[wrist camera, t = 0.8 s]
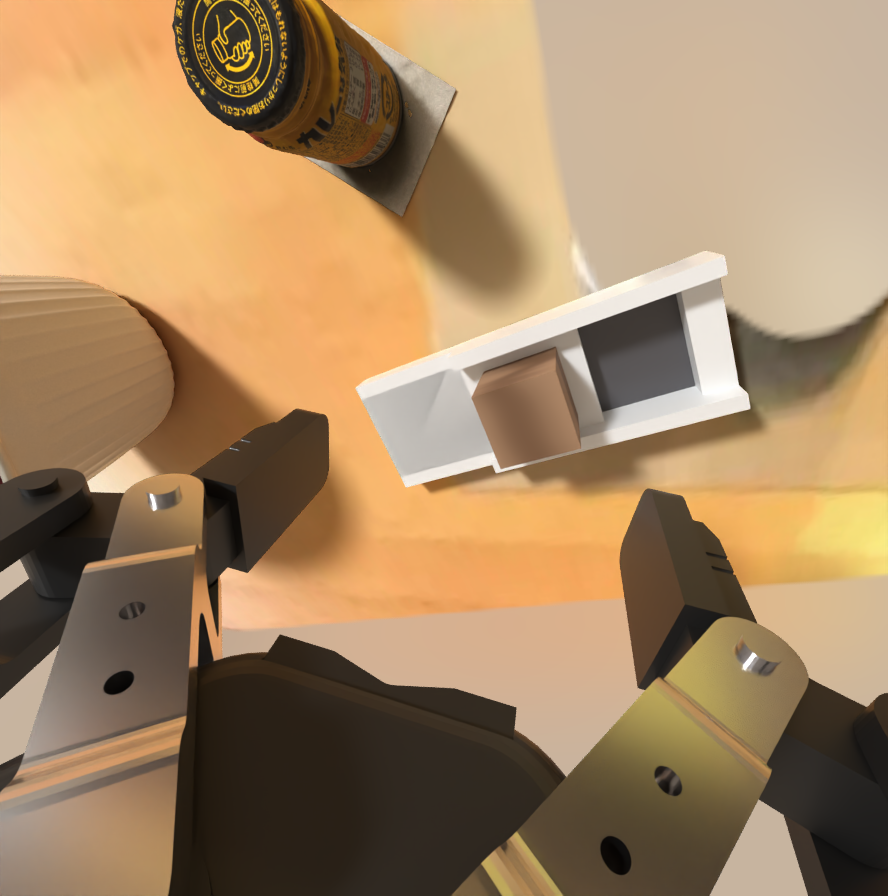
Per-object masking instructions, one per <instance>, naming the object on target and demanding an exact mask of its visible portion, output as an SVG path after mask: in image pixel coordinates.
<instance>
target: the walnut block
mask: <svg viewBox="0 0 888 896" xmlns="http://www.w3.org/2000/svg"><path fill="white" fill-rule="evenodd" d="M471 398H472V401H473V403H474V406H475V408H476V411H477V413H478V415H479V418H480V420H481V423H482V425H483V428H484V430H485V432H486V435H487V437H488V440H489V442H490V445H491V447H492V449H493V452H494V454H495V457H496V459H497V461H498V464H499V466H500V469H504V468H508V467H511V466H515V465H519V464H523V463H527V462H531V461H535V460H539V459H543V458H547V457H550V456H554V455H558V454H562V453H566V452H570V451H574V450H578V449H581V440H580V430H579V420H578V413H577V410H576V407H575V404H574V401H573V398H572V395H571V392H570V389H569V386H568V383H567V379H566V376H565V373H564V370H563V367H562V364H561V361H560V358H559V355H558V352H557V348H556V347H553V348H550V349H547V350H544V351H542V352H539V353H536V354H533V355H530V356H527V357H524V358H521V359H518V360H516V361H513V362H510V363H507V364H504V365H501V366H498V367H495V368H492V369H490V370H487V371H484V372H483V374H482V376H481V378H480V380H479V382H478V385H477V387H476V389H475V391H474V393H473V395H472V397H471Z"/></svg>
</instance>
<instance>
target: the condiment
mask: <svg viewBox="0 0 888 896" xmlns="http://www.w3.org/2000/svg"><path fill="white" fill-rule="evenodd" d="M172 27H173V30H174V33H175V44H176V50H177V55H178V58H179V60H180V63H181V66H182V69H183V71H184V73H185V76H186V79H187V82H188V85H189V86H190V88H191V89H192V90H193V92H194V93H195V94H196V96H197V97H198V98H199V99H200V101H201V102H202V104H203V105H204V106H205V107H206V109H207V110H208V111H209V112H210V113H211V114H212V115H214V116H215V117H217V118H218V119H219V120H221V121H222V122H223V123H225V124H226V125H228V126H232V127H233V128H234V129H235V130H242V131H245V132H246V133H248V134H249V135H250V136H251V137H253V138H254V139H255V140H256V141H258V142H260V143H262V144H264V145H266V146H267V147H269V148H272V149H275V150H279V151H281V152H287V153H292V154H296V155H301V156H304V157H306V158H307V159H309V160H311V161H312V162H314V163H315V164H317V165H319V166H320V167H322V168H324V169H325V170H327V171H329V172H330V173H332V174H333V175H335V176H337V177H338V178H340V179H341V180H343V181H345V182H346V183H348V184H350V185H351V186H352V187H354V188H356V189H357V190H359V191H361V192H362V193H364V194H366V195H367V196H369V197H371V198H372V199H374V200H375V201H377V202H379V203H380V204H382V205H383V206H385V207H387V208H388V209H390V210H391V211H393V212H395V213H396V214H398V215H400V216H401V217H402V216H403V214H404V212H405V209H406V207H407V204H408V203H409V201H410V198H411V196H412V194H413V191H414V189H415V187H416V184H417V181H418V179H419V177H420V175H421V173H422V170H423V168H424V165H425V163H426V161H427V158H428V156H429V153H430V151H431V149H432V146H433V145H434V141H435V139H436V136H437V133H438V131H439V129H440V126H441V124H442V122H443V120H444V117H445V115H446V112H447V109H448V107H449V105H450V102H451V100H452V97H453V95H454V93H455V90H456V89H455V88H454V87H452V86H450V85H449V84H447V83H446V82H444V81H443V80H441V79H439V78H438V77H436V76H434V75H433V74H431V73H430V72H428V71H427V70H425V69H424V68H422V67H420V66H418V65H417V64H415V63H414V62H412V61H411V60H409V59H408V58H406V57H404V56H403V55H401V54H400V53H398V52H396V51H395V50H393V49H392V48H390V47H388V46H387V45H385V44H384V43H382V42H380V41H379V40H377V39H376V38H374V37H373V36H371V35H369V34H368V33H366V32H365V31H363V30H361V29H360V28H358V27H357V26H355V25H353V24H352V23H350V22H349V21H347V20H346V19H344V18H342V17H341V16H339V15H338V14H336V13H335V12H334V11H333V10H332V9H330V8H329V7H328V6H327V5H326V4H325V3H324V2H323V1H322V0H176V7H175V14H174V21H173V24H172ZM406 102H407V103H408V108H406V107H405V103H406ZM408 110H410V111H411V113H412V116H411V117H410V116H409V114H408ZM369 170H370V171H369Z"/></svg>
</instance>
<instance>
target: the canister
mask: <svg viewBox="0 0 888 896" xmlns="http://www.w3.org/2000/svg"><path fill="white" fill-rule="evenodd" d="M173 376H174V372H173V371H172V368H171V361H170V360H169V358H168V355H167V350H165V348H164V346H163V344H162V340H161V339H160V338H159V337H158V336H157V334H156V332H155V329H154V328H152V327H151V326H150V325H149V323H148V321H147V319H146V318H144V317H143V316H141V314H140V313H139V312H138V310H137V309H136V308H134V307H132V306H130V305H129V303H128V302H127V301H126V300H124V299H122V298H120V297H118V296H117V295H116V294H115V293H113V292H111V291H109V290H106V289H104V288H103V287H101V286H99V285H96V284H92V283H88V282H85V281H83V280H78V279H73V278H64V277H56V276H21V275H0V485H1V484H3V483H5V482H6V481H8V480H11V479H13V478H15V477H17V476H20V475H23V474H26V473H29V472H33V471H37V470H43V469H51V468H68V469H74V470H77V471H79V472H81V473H82V474H83V475H84V476H85V478H86V481H88V480H90V479H91V478H93V477H94V476H95V475H97V474H98V473H100V472H101V471H102V470H104V469H105V468H106V467H108V466H109V465H110V464H112V463H113V462H114V461H116V460H117V459H118V458H120V457H121V456H122V455H124V454H125V453H126V452H128V451H129V450H130V449H131V448H133V447H134V446H135V445H137V444H138V443H139V442H141V441H142V440H143V439H144V438H146V437H147V436H148V435H149V434H151V433H152V432H153V431H154V430H155V429H156V428H157V427H158V426H159V424H160V423H161V422H162V421H163V420H164V418H165V417H166V415H167V413H168V411H169V409H170V407H171V405H172V399H173V397H174V390H173V389H174V386H175V383H174V380H173Z"/></svg>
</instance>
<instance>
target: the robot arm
mask: <svg viewBox="0 0 888 896" xmlns="http://www.w3.org/2000/svg"><path fill="white" fill-rule="evenodd" d="M328 471H329V423H328V419H327V417H326V415H324V414H319V413H315V412H311V411H306V410H302V409H295V410H293V411H292V412H291V413H289V414H288V415H287V416H285V417H284V418H283V419H281V420H280V421H279V422H277V423H275V422H273V423H270V424H267V425H265V426H262V427H259V428H256V429H254V430H253V431H251V432H250V433H248V434H247V435H246V436H244V437H243V438H241V441H237V442H236V443H234V444H233V445H231V446H230V448H229V449H226V450H224V451H223V452H222V453H220V454H219V455H217V456H216V457H214V458H213V459H212V460H210V461H209V462H207V463H206V464H205V465H203V466H202V467H200V468H199V469H198V470H196V471H195V472H193V473H192V474H190V475H187V474H180V473H172V474H163V475H157V476H153V477H150V478H147V479H144V480H142V481H140V482H138V483H136V484H134V485H133V486H131V487H130V488H129V489H128V490H127V491H126V492H125V493H98V492H90V490H89V487H88V484H87V481H86V478H85V476H84V475H83V474H82V473H81V472H79V471H77V470H74V469H68V468H51V469H43V470H37V471H33V472H29V473H26V474H23V475H20V476H17V477H15V478H13V479H11V480H8V481H6V482H5V483H3V484H1V485H0V572H1V571H3V570H4V569H6V568H7V567H9V566H10V565H12V564H13V563H15V562H16V561H17V560H19V559H20V560H21V562H22V564H23V566H24V568H25V570H26V572H27V574H28V577H29V579H28V580H27V581H26V582H24V583H23V584H22V585H20V586H19V587H18V588H16V589H15V590H14V591H12V592H11V593H9V594H8V595H7V596H6V597H4V598H3V599H2V600H0V699H1V698H2V697H3V696H4V695H5V694H6V693H7V692H8V691H9V690H10V689H12V688H13V687H14V686H15V685H16V684H17V683H18V682H19V681H20V680H21V679H22V678H23V677H24V676H26V674H28V673H29V672H30V671H31V670H32V669H33V668H34V667H35V666H36V665H37V664H39V663H40V662H41V661H42V660H43V659H44V658H45V657H46V656H47V655H48V654H49V653H50V652H52V651H53V650H54V649H55V648H56V647H57V646H58V645H59V648H58V651H57V654H56V657H55V660H54V663H53V666H52V669H51V673H50V676H49V679H48V682H47V685H46V688H45V691H44V694H43V698H42V701H41V704H40V707H39V710H38V713H37V716H36V720H35V723H34V726H33V729H32V732H31V735H30V738H29V741H28V745H27V748H26V751H25V753H23V754H21V755H19V756H17V757H15V758H13V759H11V760H9V761H7V762H5V763H3V764H1V765H0V896H710V894H711V892H712V890H713V888H714V886H715V884H716V882H717V880H718V878H719V876H720V874H721V872H722V870H723V868H724V866H725V864H726V862H727V860H728V858H729V856H730V854H731V852H732V851H733V848H734V847H735V845H736V843H737V841H738V839H739V837H740V835H741V833H742V831H743V829H744V827H745V825H746V823H747V821H748V819H749V817H750V815H751V813H752V811H753V809H754V807H755V805H756V803H757V801H758V800H761V801H762V802H764V803H765V804H767V805H769V806H770V807H772V808H773V809H775V810H777V811H778V812H780V813H781V814H783V815H784V818H785V821H786V824H787V827H788V831H789V833H790V837H791V840H792V844H793V847H794V850H795V854H796V857H797V860H798V864H799V867H800V870H801V873H802V877H803V880H804V883H805V887H806V890H807V893H808V896H888V693H884V694H882V695H879V696H878V697H877V698H876V699H875V700H874V701H873V702H872V703H871V704H870V705H869V706H868V707H865V706H863V705H861V704H859V703H857V702H855V701H853V700H851V699H849V698H847V697H845V696H843V695H841V694H839V693H837V692H835V691H833V690H831V689H829V688H827V687H825V686H823V685H821V684H819V683H817V682H815V681H813V680H812V679H810V678H809V677H808V673H807V670H806V667H805V665H804V663H803V662H802V660H801V659H800V657H799V656H798V655H797V654H796V652H795V651H794V650H793V649H792V648H791V647H790V646H789V645H788V644H787V643H786V642H785V641H783V640H782V639H781V638H780V637H778V636H777V635H776V634H774V633H773V632H771V631H770V630H768V629H766V628H765V627H763V626H761V625H759V624H757V622H756V619H755V617H754V615H753V613H752V611H751V608H750V606H749V604H748V602H747V600H746V597H745V595H744V593H743V591H742V589H741V586H740V584H739V582H738V580H737V578H736V576H735V575H733V572H734V571H733V569H732V567H731V565H730V562H729V560H726V559H727V556H726V554H725V551H724V549H723V547H722V545H721V543H720V540H719V539H718V538H717V537H716V536H715V535H714V534H713V533H712V532H711V531H710V530H709V529H708V528H707V527H706V526H705V525H704V523H702V522H698V521H694V520H693V519H692V517H691V515H690V512H689V510H688V507H687V505H686V502H685V500H684V498H683V497H682V496H680V495H675V494H671V493H666V492H662V491H658V490H653V489H646V490H645V491H644V493H643V495H642V497H641V499H640V501H639V504H638V506H637V508H636V511H635V513H634V515H633V518H632V520H631V523H630V525H629V527H628V530H627V532H626V535H625V537H624V540H623V543H622V546H621V552H620V570H621V576H622V583H623V590H624V597H625V604H626V610H627V617H628V623H629V631H630V638H631V645H632V652H633V658H634V666H635V672H636V679H637V686H638V688H640V689H644V690H645V691H644V692H643V694H642V695H641V696H640V697H639V698H638V699H637V700H636V701H635V702H634V703H633V705H632V706H631V707H630V708H629V709H628V710H627V711H626V712H625V713H624V714H623V716H622V717H621V718H620V719H619V720H618V721H617V722H616V723H615V724H614V725H613V727H612V728H611V729H610V730H609V731H608V732H607V733H606V734H605V735H604V736H603V738H602V739H601V740H600V741H599V742H598V743H597V744H596V745H595V746H594V747H593V748H592V749H591V751H590V752H589V753H588V754H587V755H586V756H585V757H584V758H583V759H582V761H581V762H580V763H579V764H578V765H577V766H576V767H575V768H574V769H573V770H572V771H571V773H570V774H569V775H568V776H567V777H566V776H565V775H564V774H563V772H562V771H561V770H560V769H559V768H558V767H557V765H556V764H555V763H554V762H553V761H552V760H551V758H549V757H548V756H547V755H546V754H545V753H544V752H543V751H542V750H541V749H540V748H539V747H538V746H537V745H535V744H534V743H533V742H532V741H530V740H529V739H528V738H527V737H525V736H524V735H522V734H521V733H519V732H518V731H516V730H515V729H514V728H515V727H514V726H515V717H516V707H513V706H510V705H506V704H503V703H500V702H497V701H493V700H490V699H487V698H484V697H481V696H477V695H474V694H471V693H468V692H464V691H461V690H458V689H454V688H453V689H452V688H435V687H416V686H415V687H414V686H396V685H389V684H386V683H384V682H382V681H380V680H379V679H377V678H376V677H374V676H372V675H370V674H369V673H368V672H366V671H365V670H363V669H361V668H360V667H358V666H357V665H355V664H354V663H352V662H350V661H349V660H347V659H346V658H344V657H343V656H341V655H339V654H338V653H336V652H335V651H332V650H329V649H325V648H322V647H319V646H316V645H312V644H309V643H306V642H303V641H300V640H296V639H293V638H289V637H287V636H283V635H279V637H278V638H277V640H276V641H275V643H274V644H273V646H272V647H271V649H270V650H269V652H268V653H267V652H261V653H260V652H259V653H246V654H241V655H234V656H230V657H226V658H223V656H222V604H221V580H220V575H221V574H222V573H223V571H224V570H225V569H226V568H227V567H229V568H232V569H236V570H239V571H243V572H246V573H248V572H249V571H250V570H251V569H252V567H253V566H254V565H255V564H256V563H257V562H258V561H259V559H260V558H261V557H262V556H263V555H264V554H265V553H266V551H267V550H268V549H269V548H270V547H271V546H272V545H273V543H274V542H275V541H276V540H277V539H278V538H279V537H280V535H281V534H282V533H283V532H284V531H285V530H286V529H287V527H288V526H289V525H290V524H291V523H292V522H293V521H294V519H295V518H296V517H297V516H298V515H299V514H300V513H301V511H302V510H303V509H304V508H305V507H306V506H307V505H308V503H309V502H310V501H311V500H312V499H313V498H314V497H315V495H316V494H317V493H318V492H319V491H320V490H321V488H322V487H323V485H324V484H325V481H326V479H327V475H328Z"/></svg>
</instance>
